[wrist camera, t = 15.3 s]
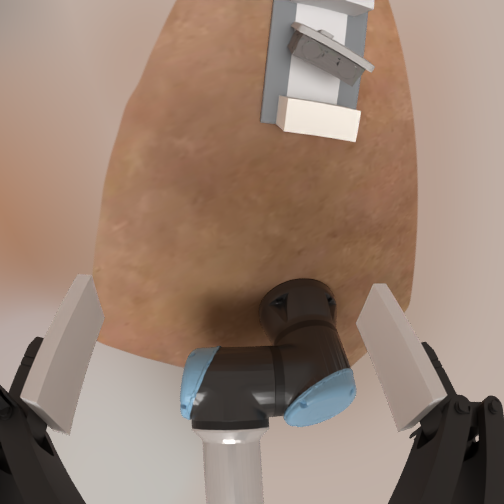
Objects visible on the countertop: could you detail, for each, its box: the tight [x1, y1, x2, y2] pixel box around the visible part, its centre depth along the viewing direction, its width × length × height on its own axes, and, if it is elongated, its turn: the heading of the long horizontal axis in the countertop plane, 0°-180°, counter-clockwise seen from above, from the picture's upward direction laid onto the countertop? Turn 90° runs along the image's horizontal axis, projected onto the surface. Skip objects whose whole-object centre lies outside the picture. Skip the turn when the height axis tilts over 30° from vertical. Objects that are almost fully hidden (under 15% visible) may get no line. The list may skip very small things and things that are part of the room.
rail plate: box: [260, 0, 374, 142], centre depth 28 cm, size 22×13×7 cm, turn 175°
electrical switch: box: [287, 21, 375, 87], centre depth 27 cm, size 9×5×9 cm, turn 66°
